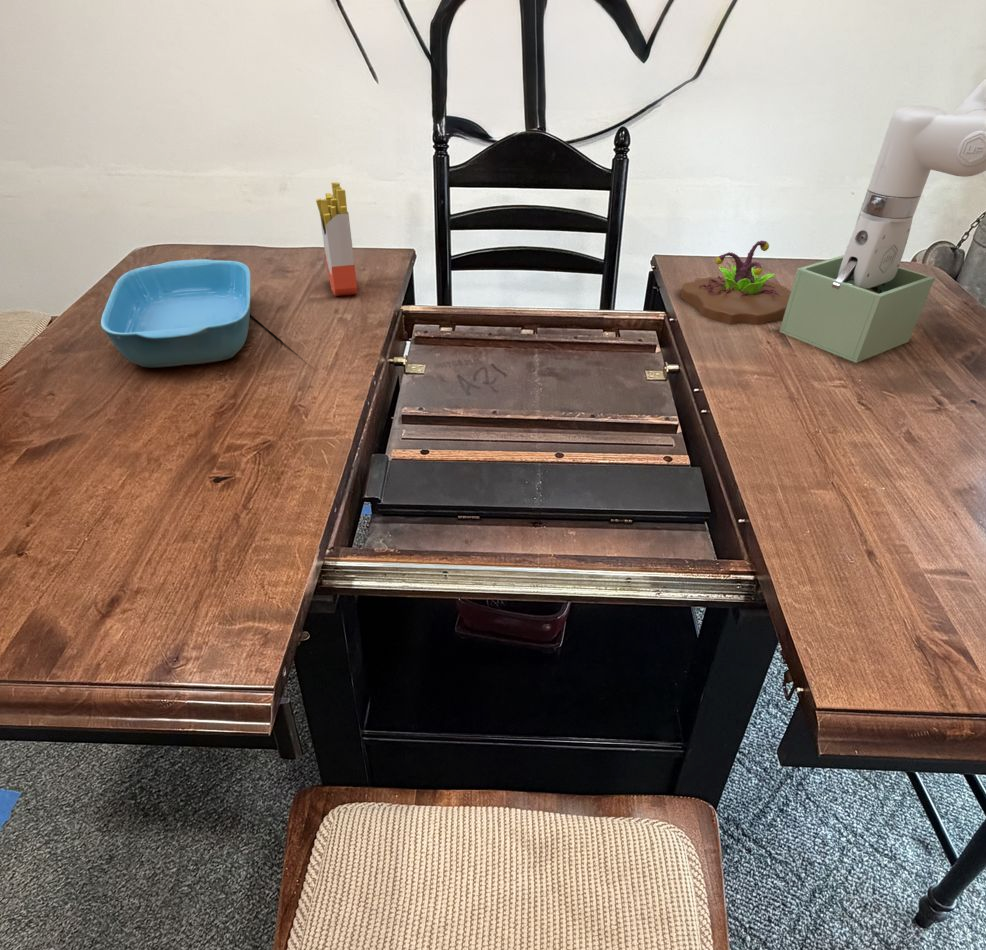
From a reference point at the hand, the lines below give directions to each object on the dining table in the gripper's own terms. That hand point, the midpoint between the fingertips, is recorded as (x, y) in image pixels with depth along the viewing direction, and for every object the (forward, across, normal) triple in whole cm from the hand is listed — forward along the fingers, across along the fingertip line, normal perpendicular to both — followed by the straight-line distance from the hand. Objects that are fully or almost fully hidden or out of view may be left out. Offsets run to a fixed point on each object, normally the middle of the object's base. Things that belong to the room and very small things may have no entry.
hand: (848, 322), depth 120 cm
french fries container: (+3, -61, +68) cm, 91 cm away
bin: (+3, 0, 0) cm, 3 cm away
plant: (+3, -3, +20) cm, 21 cm away
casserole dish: (+3, -91, +64) cm, 112 cm away
